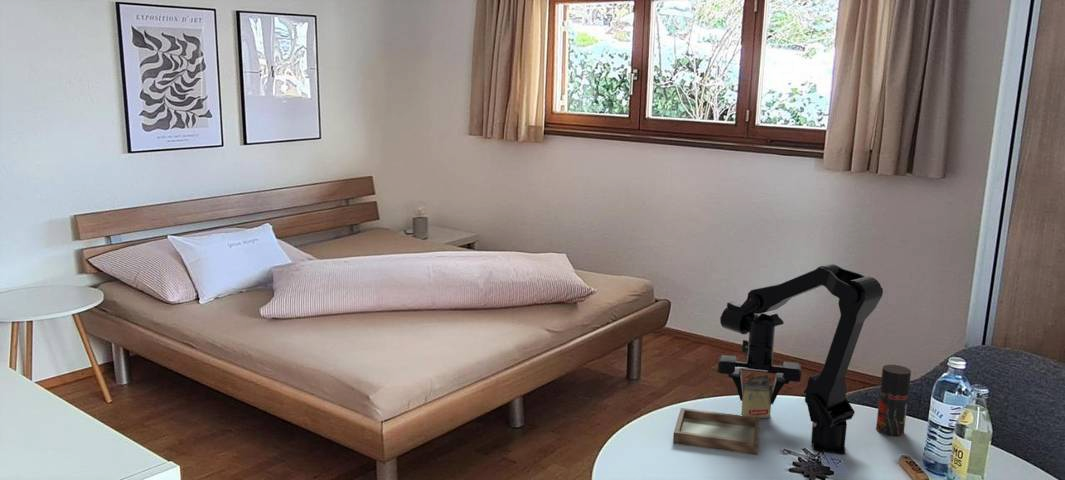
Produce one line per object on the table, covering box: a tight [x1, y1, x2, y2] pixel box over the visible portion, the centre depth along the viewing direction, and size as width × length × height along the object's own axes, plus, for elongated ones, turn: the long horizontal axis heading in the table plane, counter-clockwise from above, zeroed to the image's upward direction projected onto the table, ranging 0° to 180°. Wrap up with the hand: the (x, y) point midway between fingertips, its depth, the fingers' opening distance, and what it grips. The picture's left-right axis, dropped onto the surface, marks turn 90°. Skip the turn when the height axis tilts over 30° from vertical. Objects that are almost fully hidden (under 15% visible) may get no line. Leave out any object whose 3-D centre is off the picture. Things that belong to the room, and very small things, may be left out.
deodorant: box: [875, 364, 912, 438], centre depth 193 cm, size 6×6×15 cm
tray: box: [672, 407, 761, 456], centre depth 190 cm, size 18×14×3 cm
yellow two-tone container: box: [740, 374, 773, 419], centre depth 201 cm, size 7×4×10 cm, turn 99°
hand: (756, 402), depth 201 cm, fingers closed on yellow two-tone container, 7 cm apart
